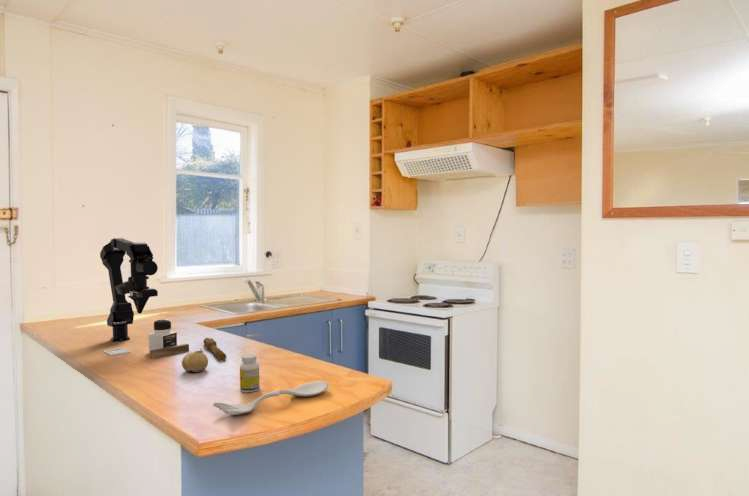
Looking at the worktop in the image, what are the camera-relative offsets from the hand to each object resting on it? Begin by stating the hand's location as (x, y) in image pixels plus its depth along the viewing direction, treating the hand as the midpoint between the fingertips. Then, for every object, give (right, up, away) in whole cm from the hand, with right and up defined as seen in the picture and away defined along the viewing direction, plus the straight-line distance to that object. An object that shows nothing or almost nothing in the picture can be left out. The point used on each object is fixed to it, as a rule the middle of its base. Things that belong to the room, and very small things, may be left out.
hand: (139, 313), depth 197 cm
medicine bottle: (+13, -14, -9) cm, 21 cm away
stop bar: (+17, -13, -13) cm, 26 cm away
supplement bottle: (+58, -15, -55) cm, 81 cm away
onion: (+35, -14, -35) cm, 52 cm away
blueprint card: (-5, -13, -9) cm, 17 cm away
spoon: (+68, -16, -66) cm, 96 cm away
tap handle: (+33, -14, -10) cm, 37 cm away
